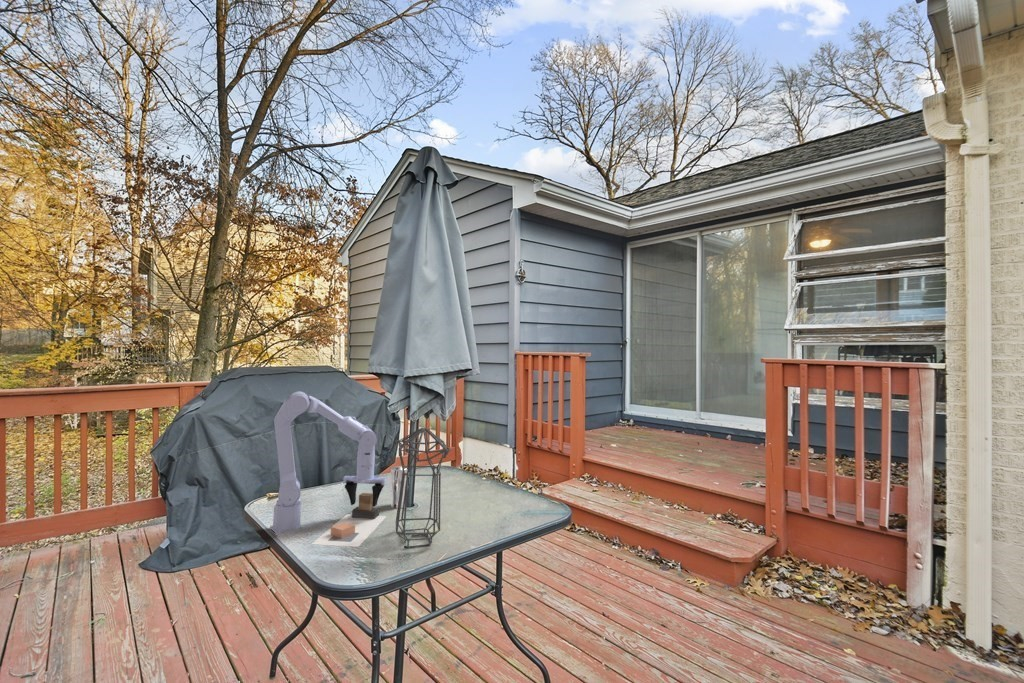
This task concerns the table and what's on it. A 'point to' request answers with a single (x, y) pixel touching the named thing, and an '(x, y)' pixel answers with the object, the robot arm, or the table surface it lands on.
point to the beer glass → (396, 485)
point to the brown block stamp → (365, 507)
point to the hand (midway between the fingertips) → (363, 504)
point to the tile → (342, 530)
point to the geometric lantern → (445, 452)
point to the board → (361, 533)
